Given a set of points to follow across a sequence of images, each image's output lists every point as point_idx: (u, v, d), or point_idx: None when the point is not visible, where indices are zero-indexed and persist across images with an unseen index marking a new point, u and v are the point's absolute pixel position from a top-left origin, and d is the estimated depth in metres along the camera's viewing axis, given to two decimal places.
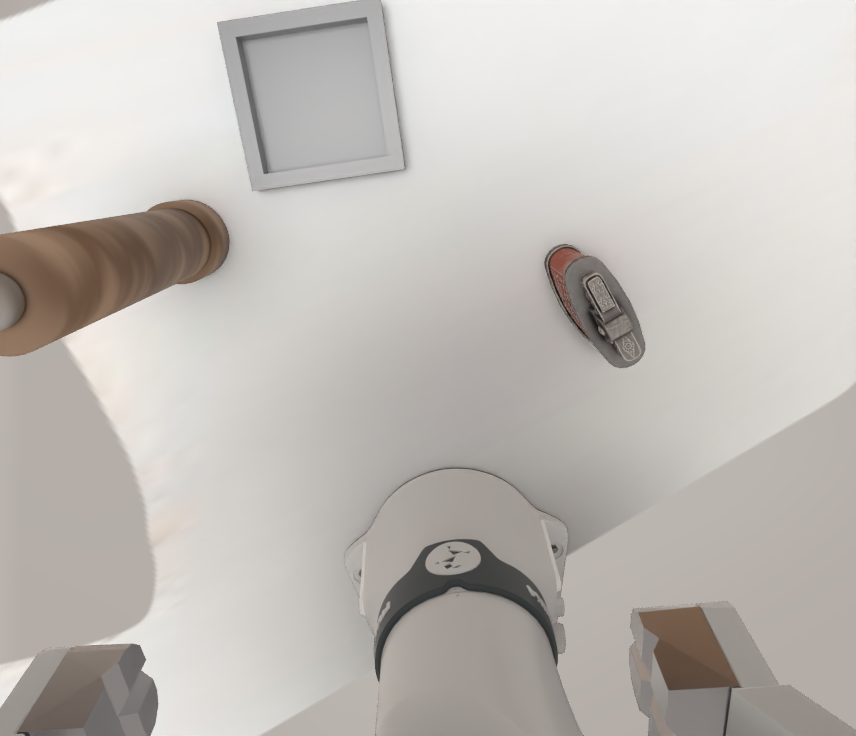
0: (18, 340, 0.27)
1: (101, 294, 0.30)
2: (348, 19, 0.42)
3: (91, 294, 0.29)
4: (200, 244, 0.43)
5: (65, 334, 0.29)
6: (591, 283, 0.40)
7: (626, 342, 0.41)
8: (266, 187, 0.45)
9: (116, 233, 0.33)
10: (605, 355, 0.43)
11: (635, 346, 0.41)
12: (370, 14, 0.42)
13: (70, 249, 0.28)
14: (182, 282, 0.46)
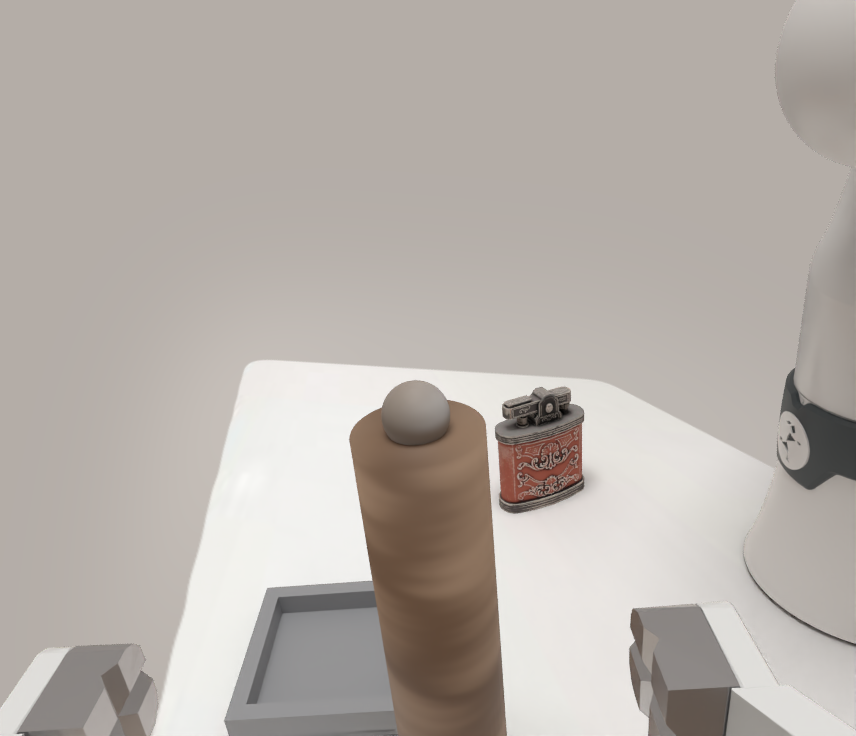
0: (467, 422, 0.23)
1: None
2: (274, 611, 0.45)
3: None
4: None
5: None
6: (508, 404, 0.53)
7: (555, 391, 0.54)
8: None
9: None
10: (574, 418, 0.54)
11: (558, 388, 0.55)
12: (277, 595, 0.46)
13: None
14: None
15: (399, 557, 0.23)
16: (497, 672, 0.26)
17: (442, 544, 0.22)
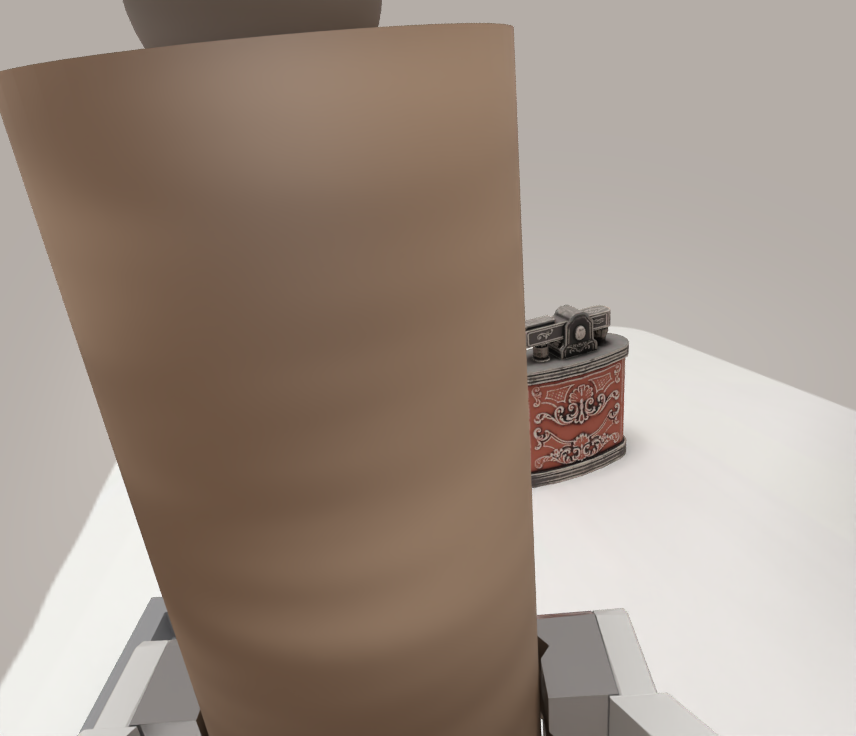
0: None
1: None
2: (154, 635, 0.28)
3: None
4: None
5: None
6: None
7: (588, 311, 0.38)
8: None
9: None
10: (615, 349, 0.38)
11: (592, 307, 0.38)
12: (164, 608, 0.30)
13: None
14: None
15: (188, 507, 0.06)
16: None
17: (346, 449, 0.06)
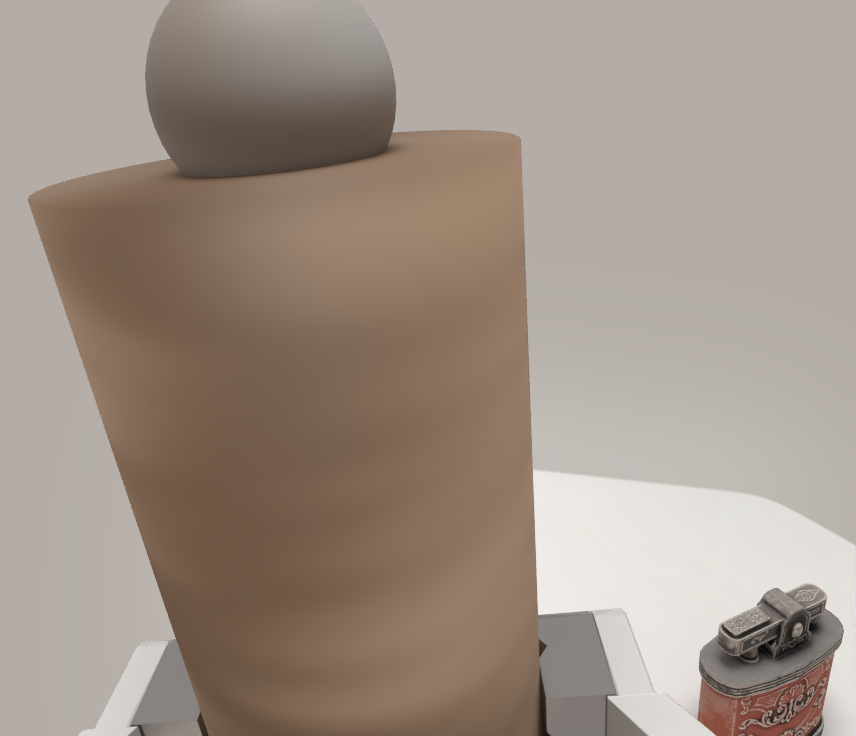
0: (456, 140, 0.07)
1: None
2: None
3: None
4: None
5: None
6: (734, 630, 0.30)
7: (801, 597, 0.32)
8: None
9: None
10: (832, 641, 0.32)
11: (803, 588, 0.33)
12: None
13: None
14: None
15: (213, 594, 0.06)
16: None
17: (364, 545, 0.06)
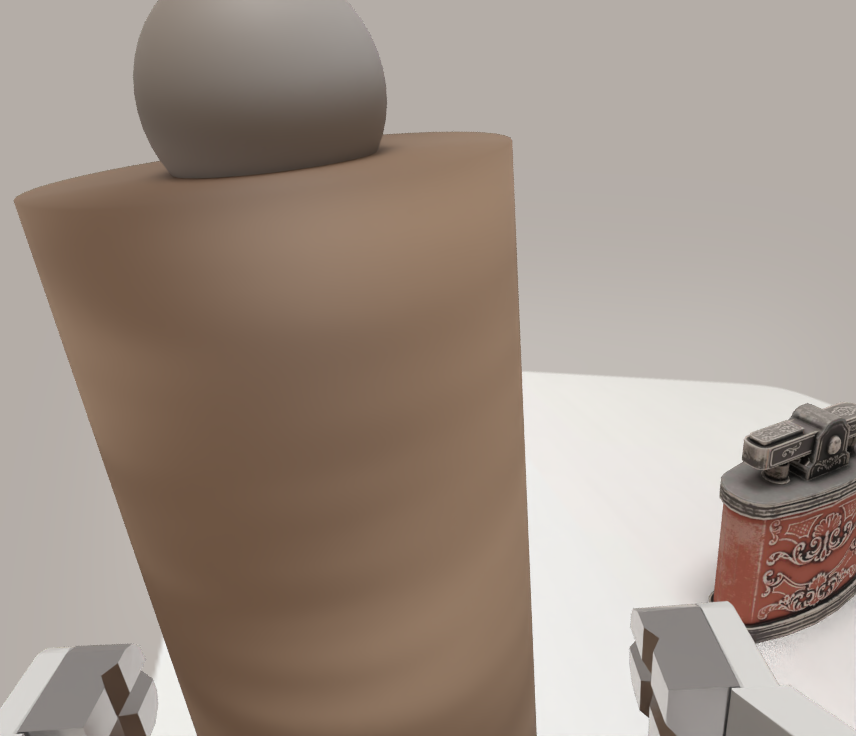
0: (448, 141, 0.07)
1: None
2: None
3: None
4: None
5: None
6: (763, 438, 0.26)
7: (838, 412, 0.28)
8: None
9: None
10: None
11: (839, 406, 0.28)
12: None
13: None
14: None
15: (203, 600, 0.06)
16: None
17: (354, 551, 0.06)
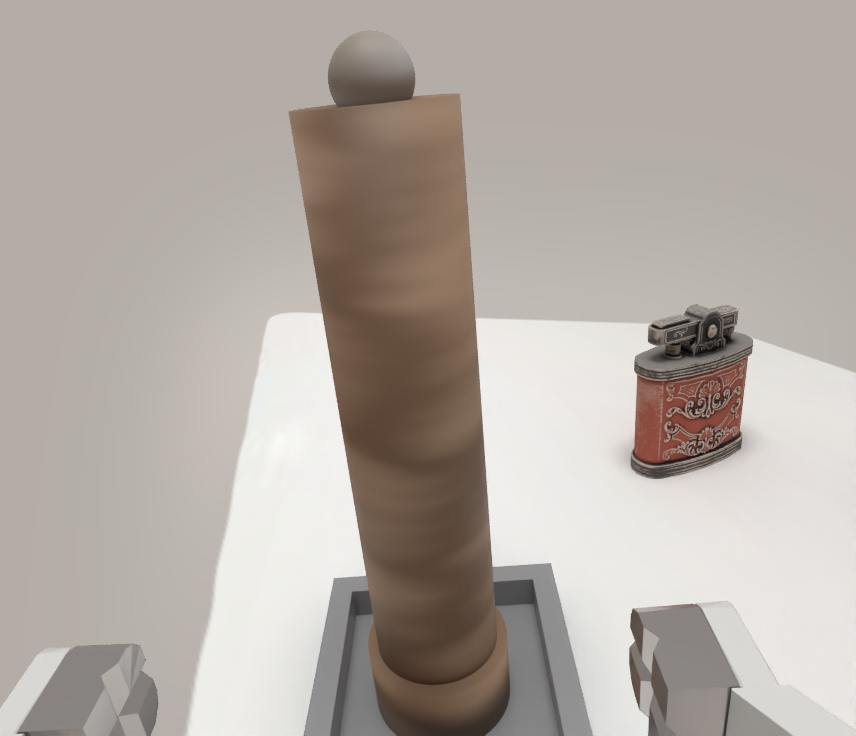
0: (437, 95, 0.19)
1: None
2: (348, 612, 0.30)
3: None
4: None
5: None
6: (660, 324, 0.38)
7: (717, 310, 0.40)
8: None
9: None
10: (742, 346, 0.40)
11: (719, 307, 0.40)
12: (350, 588, 0.32)
13: None
14: (504, 634, 0.26)
15: (350, 254, 0.18)
16: (478, 446, 0.22)
17: (404, 230, 0.18)
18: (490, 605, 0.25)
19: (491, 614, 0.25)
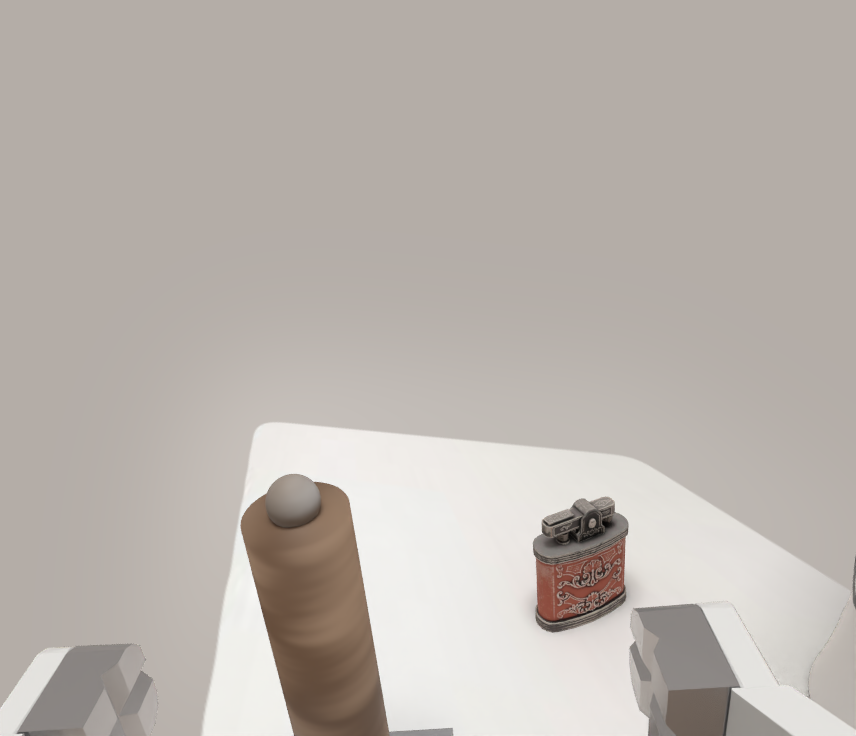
0: (336, 506, 0.29)
1: None
2: None
3: None
4: None
5: None
6: (549, 521, 0.49)
7: (598, 504, 0.50)
8: None
9: None
10: (618, 532, 0.50)
11: (601, 499, 0.51)
12: None
13: None
14: None
15: (279, 615, 0.29)
16: (373, 701, 0.33)
17: (312, 604, 0.28)
18: None
19: None
